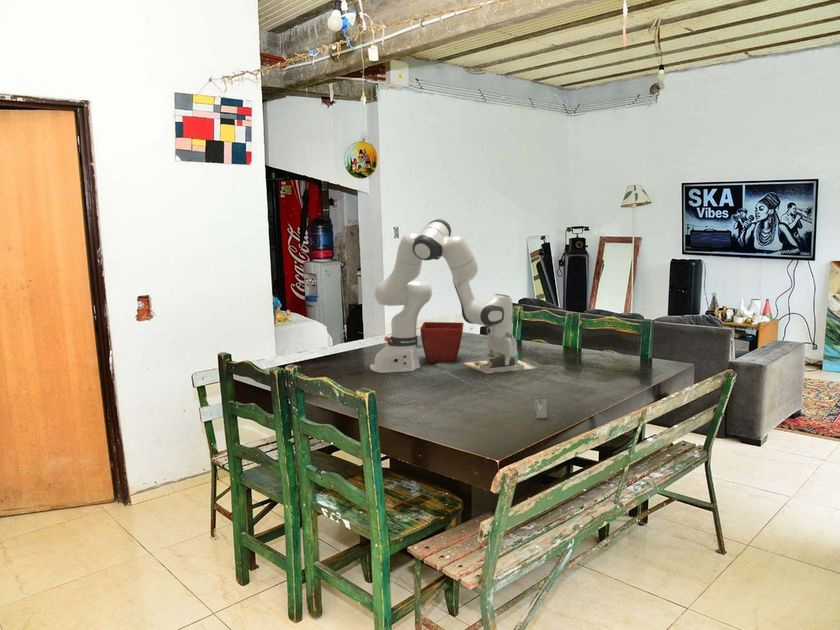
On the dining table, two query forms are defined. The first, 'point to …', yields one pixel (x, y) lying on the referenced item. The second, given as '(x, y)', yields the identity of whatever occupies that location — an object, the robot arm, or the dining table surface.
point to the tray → (486, 368)
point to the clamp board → (477, 366)
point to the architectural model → (541, 409)
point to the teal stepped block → (516, 356)
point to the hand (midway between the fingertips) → (501, 362)
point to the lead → (500, 362)
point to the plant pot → (441, 340)
